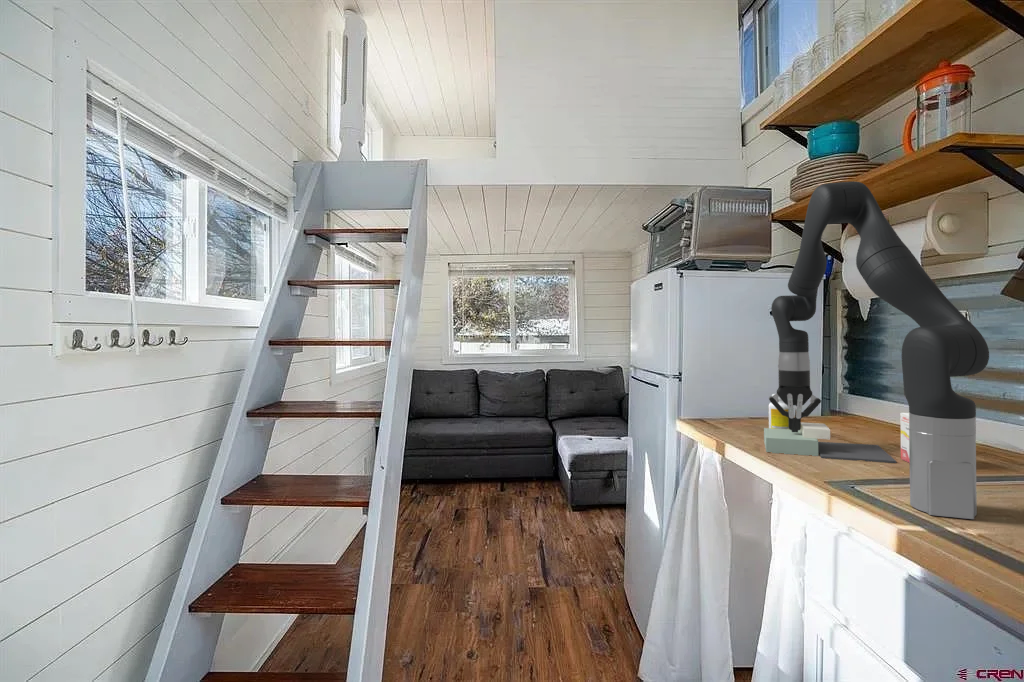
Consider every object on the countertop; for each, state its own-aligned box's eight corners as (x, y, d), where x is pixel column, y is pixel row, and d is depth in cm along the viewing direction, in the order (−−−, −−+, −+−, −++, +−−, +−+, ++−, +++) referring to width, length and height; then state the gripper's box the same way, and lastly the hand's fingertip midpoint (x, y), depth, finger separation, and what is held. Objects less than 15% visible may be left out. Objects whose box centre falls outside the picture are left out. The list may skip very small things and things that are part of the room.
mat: (896, 463, 123) (896, 461, 123) (821, 458, 129) (821, 456, 129) (877, 446, 139) (877, 444, 139) (812, 443, 146) (812, 441, 145)
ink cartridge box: (899, 459, 126) (898, 400, 126) (921, 459, 125) (921, 400, 125) (919, 468, 118) (918, 405, 118) (943, 469, 117) (943, 405, 117)
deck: (818, 456, 131) (818, 440, 131) (766, 452, 136) (766, 437, 136) (811, 444, 144) (811, 430, 144) (764, 441, 149) (763, 428, 149)
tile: (830, 439, 132) (830, 429, 132) (803, 437, 135) (803, 428, 135) (824, 432, 140) (824, 423, 140) (799, 431, 143) (799, 422, 143)
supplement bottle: (797, 439, 151) (796, 396, 151) (773, 438, 152) (772, 396, 152) (788, 434, 158) (788, 393, 157) (765, 434, 159) (765, 393, 158)
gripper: (767, 369, 138) (768, 433, 138) (824, 369, 133) (825, 436, 133) (766, 367, 145) (766, 427, 145) (819, 367, 140) (820, 430, 140)
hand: (794, 431), depth 139 cm, fingers closed
